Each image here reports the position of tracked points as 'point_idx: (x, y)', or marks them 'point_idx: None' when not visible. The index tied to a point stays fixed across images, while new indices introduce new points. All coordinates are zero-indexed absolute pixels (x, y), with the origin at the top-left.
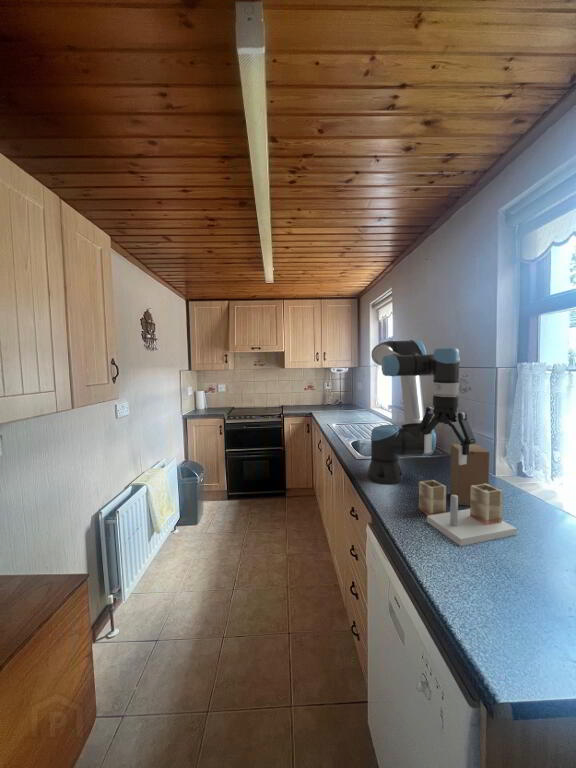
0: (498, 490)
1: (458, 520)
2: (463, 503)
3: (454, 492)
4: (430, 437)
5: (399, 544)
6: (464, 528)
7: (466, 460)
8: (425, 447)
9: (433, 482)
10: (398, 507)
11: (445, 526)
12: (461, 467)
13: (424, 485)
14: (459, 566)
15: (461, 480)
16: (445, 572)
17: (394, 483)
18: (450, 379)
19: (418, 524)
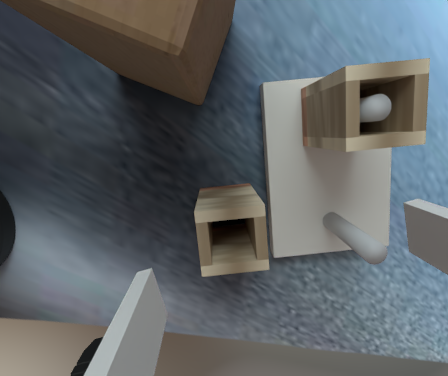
0: (421, 74)
1: (316, 194)
2: (207, 90)
3: (162, 89)
4: (119, 373)
5: (337, 349)
6: (353, 207)
7: (436, 206)
8: (156, 346)
9: (208, 220)
10: (183, 279)
11: (332, 244)
12: (197, 71)
13: (233, 271)
14: (429, 283)
15: (201, 83)
16: (434, 315)
17: (12, 215)
18: None
19: (276, 275)
